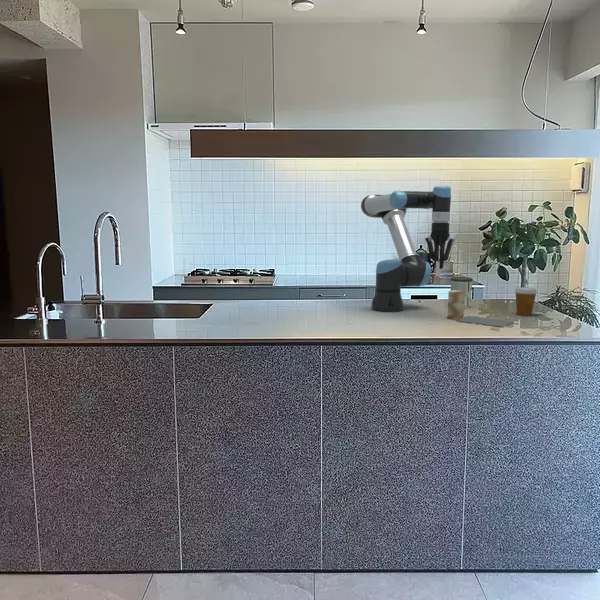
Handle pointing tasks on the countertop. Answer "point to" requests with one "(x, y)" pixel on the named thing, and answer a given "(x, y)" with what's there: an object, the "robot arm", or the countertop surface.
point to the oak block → (456, 304)
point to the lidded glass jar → (463, 288)
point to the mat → (485, 321)
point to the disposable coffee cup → (525, 300)
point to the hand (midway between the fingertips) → (438, 275)
